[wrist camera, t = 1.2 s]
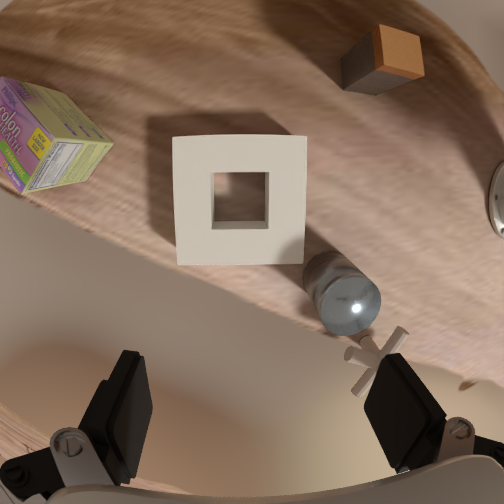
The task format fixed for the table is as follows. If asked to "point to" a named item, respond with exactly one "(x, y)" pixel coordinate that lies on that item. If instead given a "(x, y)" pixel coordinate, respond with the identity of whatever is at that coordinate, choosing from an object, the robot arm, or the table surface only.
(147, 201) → the table surface
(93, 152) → the box
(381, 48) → the square bit
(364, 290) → the cylinder
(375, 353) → the pipe connector
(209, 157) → the holder block
